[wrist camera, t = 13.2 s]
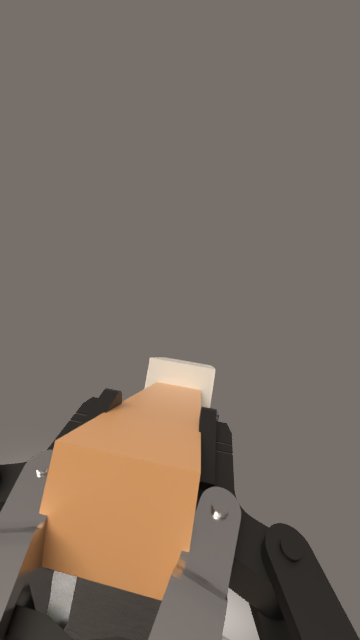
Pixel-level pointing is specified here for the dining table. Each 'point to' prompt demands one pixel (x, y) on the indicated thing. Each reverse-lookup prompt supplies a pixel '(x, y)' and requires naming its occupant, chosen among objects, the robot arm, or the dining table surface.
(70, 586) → the dining table surface
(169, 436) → the orange rectangular block
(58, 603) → the dining table surface
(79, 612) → the dark gray pedestal stand
